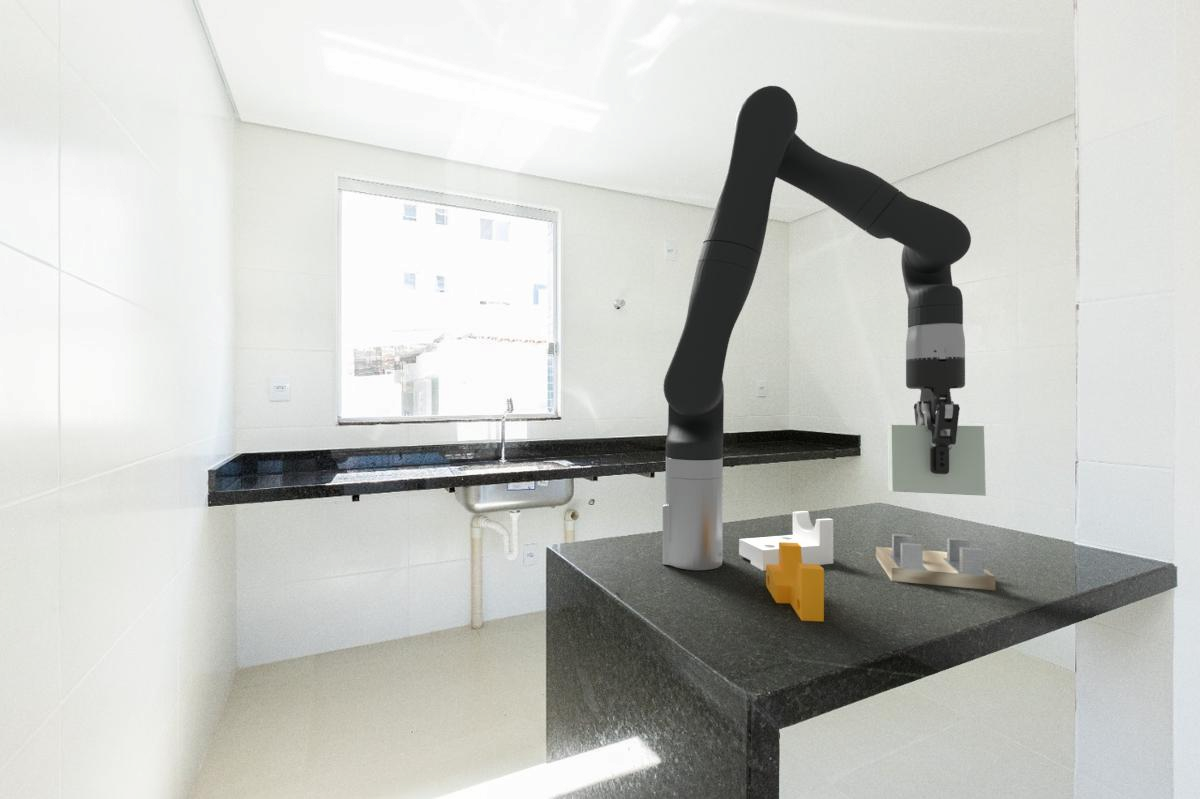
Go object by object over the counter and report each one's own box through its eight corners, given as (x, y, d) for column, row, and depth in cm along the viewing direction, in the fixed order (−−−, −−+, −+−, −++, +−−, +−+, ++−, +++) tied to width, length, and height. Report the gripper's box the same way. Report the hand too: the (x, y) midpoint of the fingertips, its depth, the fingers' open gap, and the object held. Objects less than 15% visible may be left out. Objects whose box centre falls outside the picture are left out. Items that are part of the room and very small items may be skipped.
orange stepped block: (766, 586, 77) (766, 541, 77) (797, 588, 77) (797, 542, 77) (786, 621, 65) (786, 567, 65) (823, 622, 65) (823, 569, 65)
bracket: (805, 554, 94) (805, 510, 94) (833, 566, 87) (833, 519, 87) (739, 560, 91) (739, 515, 91) (762, 573, 84) (763, 524, 84)
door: (894, 492, 80) (893, 424, 81) (888, 489, 84) (887, 425, 84) (988, 496, 76) (986, 425, 77) (977, 493, 80) (976, 426, 81)
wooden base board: (891, 581, 79) (891, 567, 79) (875, 558, 91) (875, 546, 91) (995, 590, 75) (995, 576, 75) (965, 565, 87) (965, 553, 87)
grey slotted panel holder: (898, 568, 79) (898, 544, 79) (888, 555, 85) (888, 533, 85) (987, 575, 76) (987, 550, 76) (970, 562, 82) (970, 539, 82)
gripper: (895, 360, 88) (896, 465, 88) (919, 353, 75) (919, 477, 75) (948, 359, 86) (948, 467, 86) (982, 352, 73) (982, 479, 73)
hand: (935, 471), depth 81 cm, fingers closed on door, 4 cm apart
